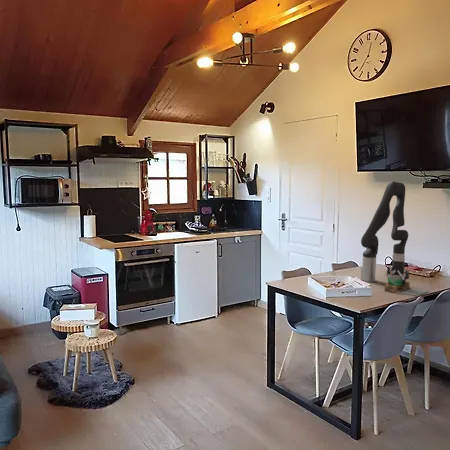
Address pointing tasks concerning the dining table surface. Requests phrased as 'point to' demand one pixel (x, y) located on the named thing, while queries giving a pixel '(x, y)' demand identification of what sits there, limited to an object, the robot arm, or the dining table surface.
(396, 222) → the robot arm
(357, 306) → the dining table surface
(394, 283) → the food container
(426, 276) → the dining table surface
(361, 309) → the dining table surface
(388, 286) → the clamp blocks
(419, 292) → the slate pad
